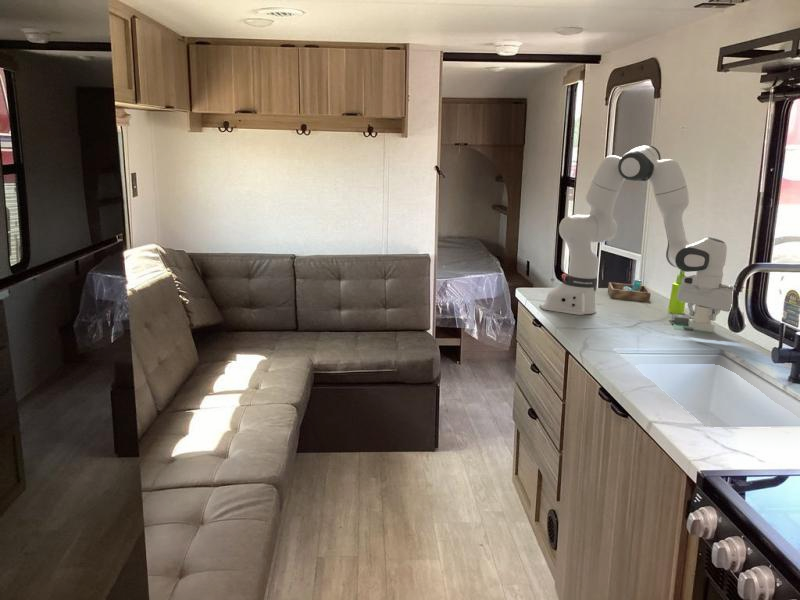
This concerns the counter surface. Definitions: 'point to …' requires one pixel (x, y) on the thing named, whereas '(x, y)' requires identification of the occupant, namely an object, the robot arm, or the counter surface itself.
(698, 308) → the plug
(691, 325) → the compartment tray
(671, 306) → the soap dispenser
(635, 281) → the teal container
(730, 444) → the counter surface
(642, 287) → the wooden tray
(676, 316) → the grey sponge
